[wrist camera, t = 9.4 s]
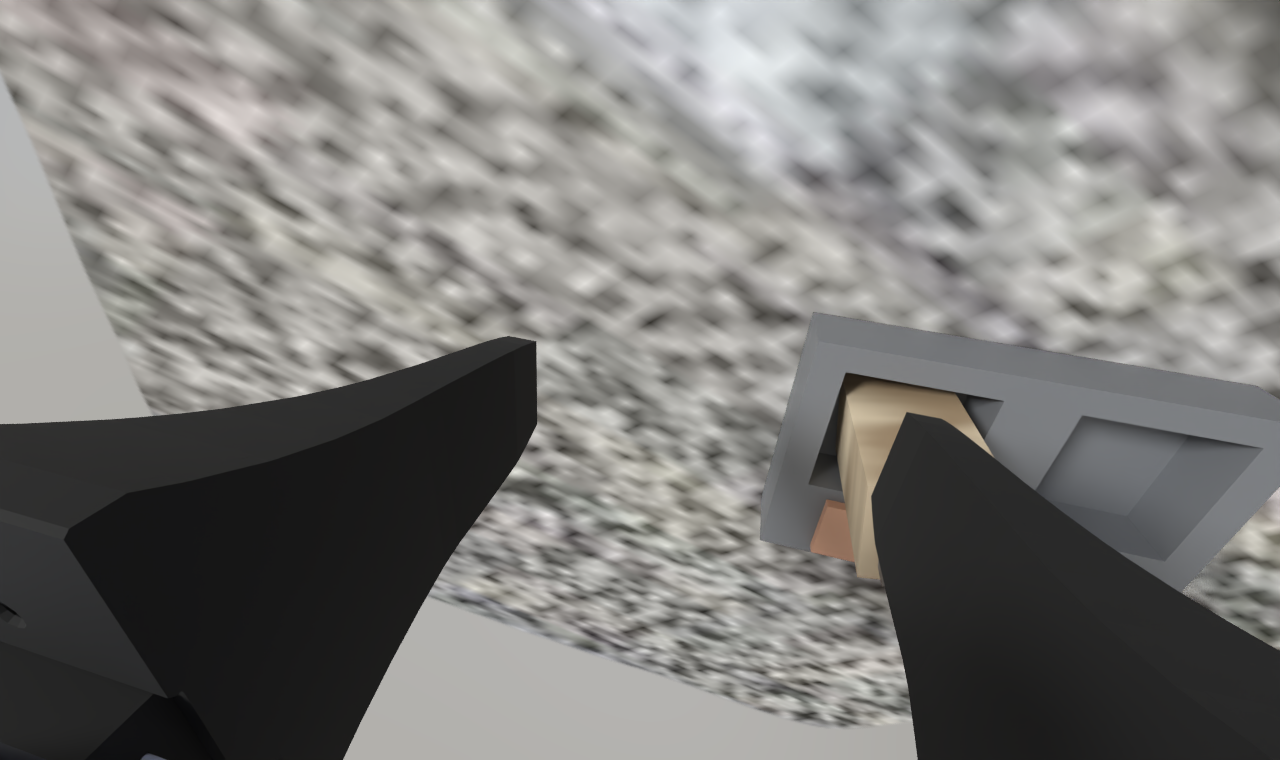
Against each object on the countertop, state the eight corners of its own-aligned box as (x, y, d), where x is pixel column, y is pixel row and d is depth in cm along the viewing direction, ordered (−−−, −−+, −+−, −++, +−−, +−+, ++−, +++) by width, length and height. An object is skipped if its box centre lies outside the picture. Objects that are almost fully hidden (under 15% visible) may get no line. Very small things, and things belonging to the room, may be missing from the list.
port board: (1257, 386, 17) (1345, 438, 14) (1105, 574, 21) (1151, 640, 18) (813, 312, 19) (819, 346, 16) (761, 497, 23) (759, 547, 21)
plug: (943, 373, 18) (1028, 513, 12) (929, 451, 20) (998, 611, 14) (841, 373, 19) (872, 503, 13) (835, 448, 21) (860, 596, 15)
